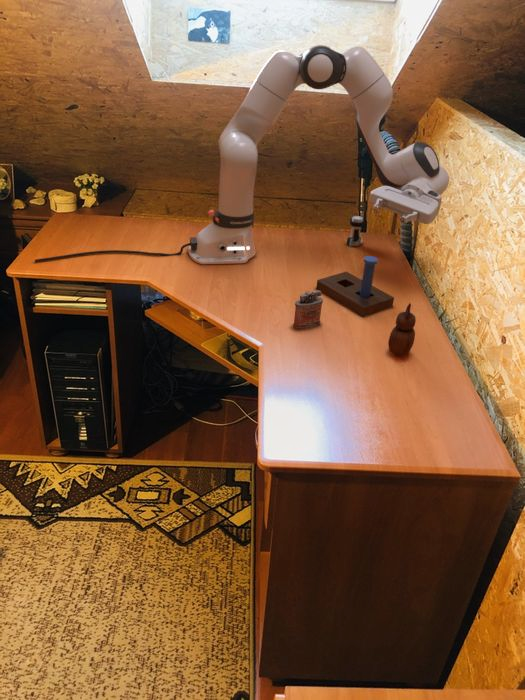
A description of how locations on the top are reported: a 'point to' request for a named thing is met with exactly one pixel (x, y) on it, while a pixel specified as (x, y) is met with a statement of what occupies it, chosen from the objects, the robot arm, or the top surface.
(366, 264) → the peg
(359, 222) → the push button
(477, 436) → the top surface
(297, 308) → the lighter
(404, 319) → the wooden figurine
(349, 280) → the rack
